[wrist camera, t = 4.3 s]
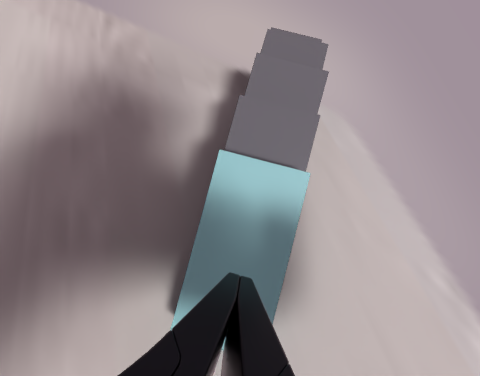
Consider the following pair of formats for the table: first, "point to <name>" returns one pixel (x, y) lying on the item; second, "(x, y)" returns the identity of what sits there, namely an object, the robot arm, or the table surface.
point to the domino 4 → (245, 229)
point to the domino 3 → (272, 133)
